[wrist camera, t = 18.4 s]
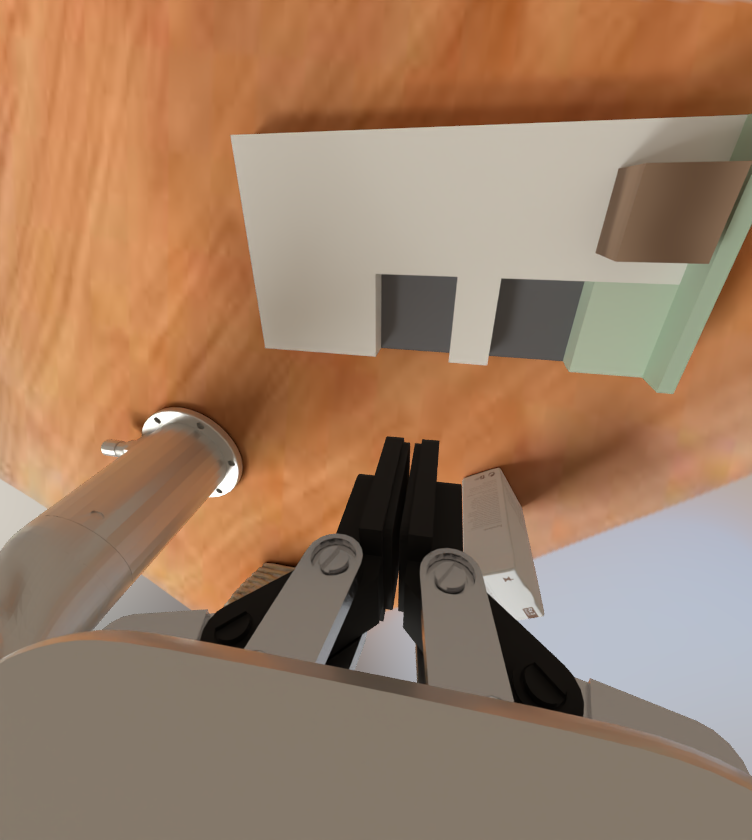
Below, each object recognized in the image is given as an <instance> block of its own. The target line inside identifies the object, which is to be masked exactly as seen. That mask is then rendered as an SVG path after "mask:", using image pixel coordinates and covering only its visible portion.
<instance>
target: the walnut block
mask: <svg viewBox="0 0 752 840" xmlns="http://www.w3.org/2000/svg"><path fill="white" fill-rule="evenodd" d="M751 164H752V161H713V162H666V163H643V164H639V165H634V166H629V167H624V168H619V169H618V172H617V176H616V180H615V183H614V187H613V191H612V194H611V198H610V201H609V205H608V209H607V212H606V216H605V219H604V223H603V227H602V230H601V234H600V238H599V241H598V245H597V248H596V252H595V253H596V254H599V255H601V256H603V257H606V258H608V259H611V260H613V261H615V262H647V263H689V264H709V262H710V260H711V258H712V255H713V253H714V251H715V248H716V246H717V244H718V241H719V239H720V237H721V234H722V232H723V230H724V227H725V225H726V223H727V220H728V218H729V215H730V213H731V211H732V208H733V206H734V204H735V201H736V199H737V197H738V194H739V192H740V190H741V187H742V185H743V183H744V180H745V178H746V176H747V173H748V171H749V169H750V166H751Z"/></svg>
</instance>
